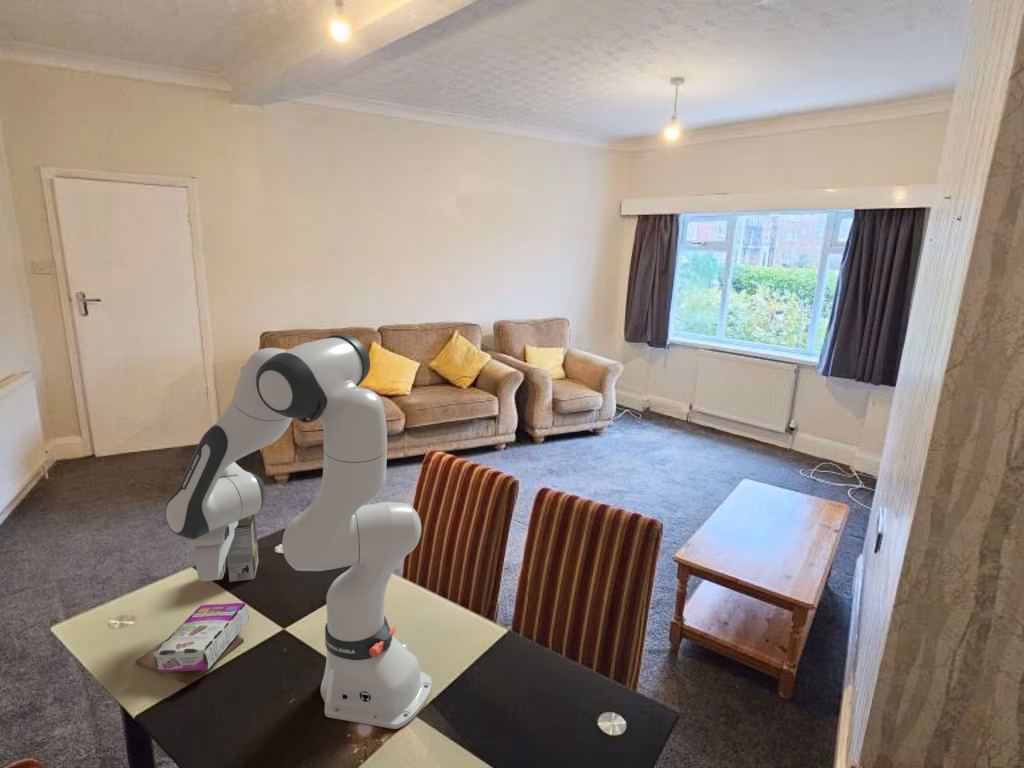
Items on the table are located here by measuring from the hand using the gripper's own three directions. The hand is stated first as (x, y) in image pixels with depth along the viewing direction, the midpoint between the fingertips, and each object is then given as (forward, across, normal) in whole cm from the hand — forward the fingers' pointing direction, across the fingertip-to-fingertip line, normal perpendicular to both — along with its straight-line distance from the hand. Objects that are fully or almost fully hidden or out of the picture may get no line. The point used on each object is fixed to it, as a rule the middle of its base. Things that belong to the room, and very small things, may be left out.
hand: (219, 576), depth 127 cm
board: (+14, +7, -5) cm, 16 cm away
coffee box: (+14, -24, +1) cm, 28 cm away
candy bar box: (+10, -1, +1) cm, 10 cm away
